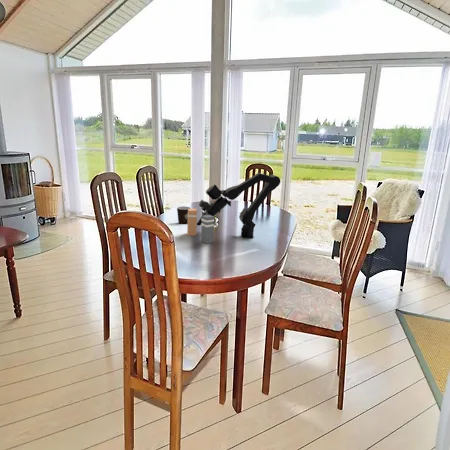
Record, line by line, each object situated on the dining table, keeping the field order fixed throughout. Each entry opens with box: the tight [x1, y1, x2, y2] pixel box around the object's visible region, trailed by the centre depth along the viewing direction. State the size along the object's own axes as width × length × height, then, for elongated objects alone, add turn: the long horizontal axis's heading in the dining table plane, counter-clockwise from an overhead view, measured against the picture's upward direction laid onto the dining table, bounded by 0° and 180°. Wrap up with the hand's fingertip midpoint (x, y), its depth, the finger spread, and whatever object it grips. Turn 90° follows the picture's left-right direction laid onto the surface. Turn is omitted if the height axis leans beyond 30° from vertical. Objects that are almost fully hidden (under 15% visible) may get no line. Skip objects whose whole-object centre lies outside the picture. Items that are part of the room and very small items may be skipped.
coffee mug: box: [176, 205, 192, 225], centre depth 213 cm, size 12×9×10 cm
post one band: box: [186, 208, 198, 236], centre depth 186 cm, size 5×5×14 cm
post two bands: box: [200, 215, 215, 245], centre depth 175 cm, size 5×5×14 cm
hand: (197, 224), depth 188 cm, fingers closed
